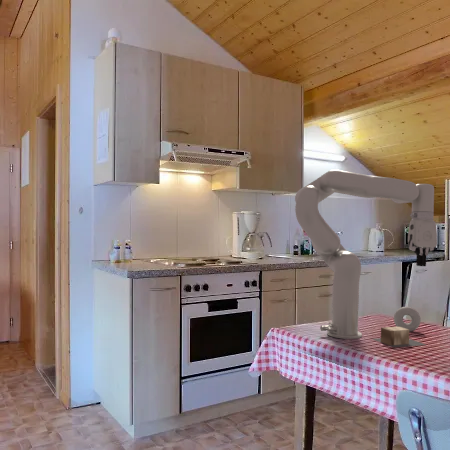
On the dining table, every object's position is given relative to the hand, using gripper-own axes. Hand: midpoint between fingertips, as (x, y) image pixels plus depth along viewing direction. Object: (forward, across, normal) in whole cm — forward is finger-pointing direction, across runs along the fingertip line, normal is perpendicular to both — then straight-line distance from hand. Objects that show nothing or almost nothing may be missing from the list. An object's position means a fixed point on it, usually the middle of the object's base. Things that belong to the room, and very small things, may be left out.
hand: (421, 265), depth 169 cm
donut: (+27, +3, +10) cm, 29 cm away
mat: (+27, -13, -4) cm, 30 cm away
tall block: (+24, -12, -5) cm, 27 cm away
